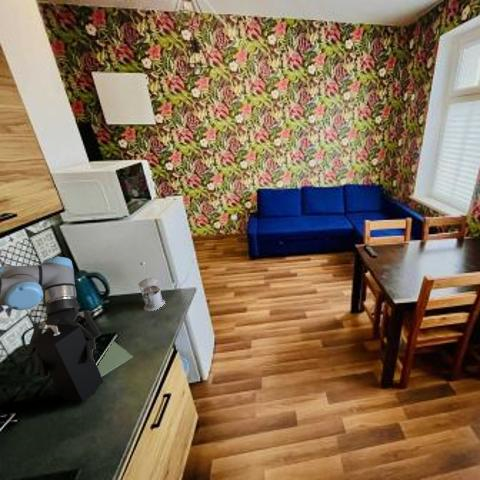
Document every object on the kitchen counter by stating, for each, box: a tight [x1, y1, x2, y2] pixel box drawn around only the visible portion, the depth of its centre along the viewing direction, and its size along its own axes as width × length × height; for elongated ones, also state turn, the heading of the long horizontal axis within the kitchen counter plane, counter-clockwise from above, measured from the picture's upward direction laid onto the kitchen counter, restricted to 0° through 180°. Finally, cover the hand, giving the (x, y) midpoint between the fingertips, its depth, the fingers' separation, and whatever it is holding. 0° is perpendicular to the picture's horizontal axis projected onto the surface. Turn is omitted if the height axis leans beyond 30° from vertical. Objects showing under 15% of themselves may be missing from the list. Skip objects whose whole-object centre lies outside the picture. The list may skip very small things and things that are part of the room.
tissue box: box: [32, 324, 104, 403], centre depth 86 cm, size 8×8×28 cm
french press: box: [138, 261, 166, 312], centre depth 132 cm, size 10×12×25 cm
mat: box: [97, 341, 134, 378], centre depth 103 cm, size 20×18×1 cm
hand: (68, 368), depth 84 cm, fingers closed on tissue box, 10 cm apart
